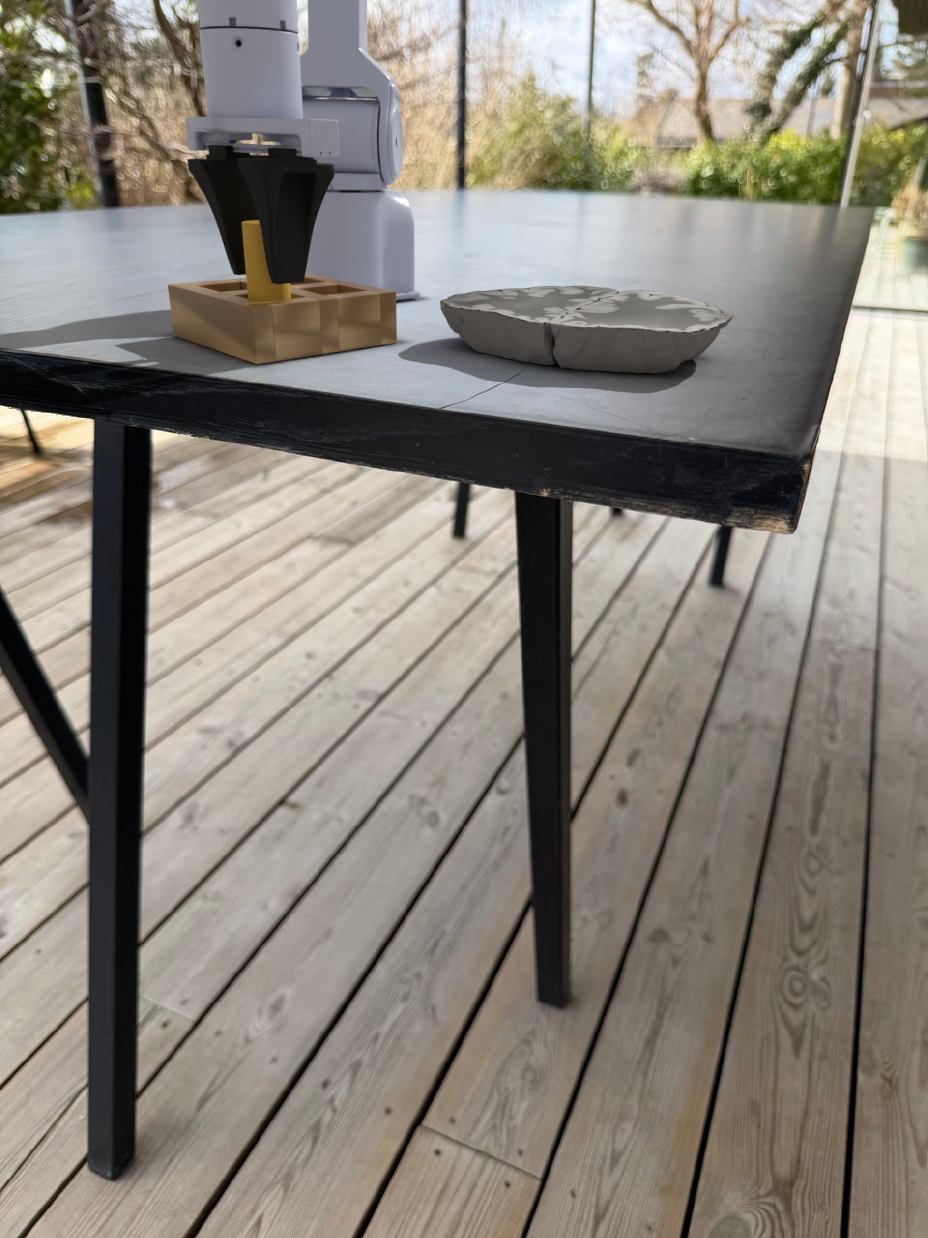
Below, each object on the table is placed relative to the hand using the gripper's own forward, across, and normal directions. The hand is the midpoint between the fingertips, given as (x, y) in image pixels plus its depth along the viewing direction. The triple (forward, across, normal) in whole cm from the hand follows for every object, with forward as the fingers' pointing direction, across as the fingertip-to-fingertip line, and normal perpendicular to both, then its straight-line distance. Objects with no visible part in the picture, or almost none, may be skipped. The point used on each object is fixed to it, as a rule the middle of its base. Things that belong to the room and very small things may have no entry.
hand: (268, 277), depth 60 cm
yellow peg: (+5, 0, 0) cm, 5 cm away
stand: (+5, -2, +2) cm, 6 cm away
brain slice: (+5, +12, +18) cm, 22 cm away
